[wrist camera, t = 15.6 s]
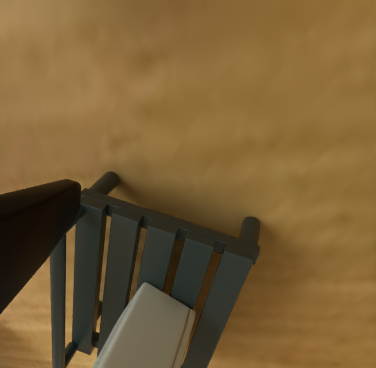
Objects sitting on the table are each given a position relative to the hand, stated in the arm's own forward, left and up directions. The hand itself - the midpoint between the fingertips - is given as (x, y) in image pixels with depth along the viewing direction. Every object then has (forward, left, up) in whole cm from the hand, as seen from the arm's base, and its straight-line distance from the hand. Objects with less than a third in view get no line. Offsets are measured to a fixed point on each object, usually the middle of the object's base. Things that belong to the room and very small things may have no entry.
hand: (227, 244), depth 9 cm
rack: (+3, +15, -12) cm, 19 cm away
